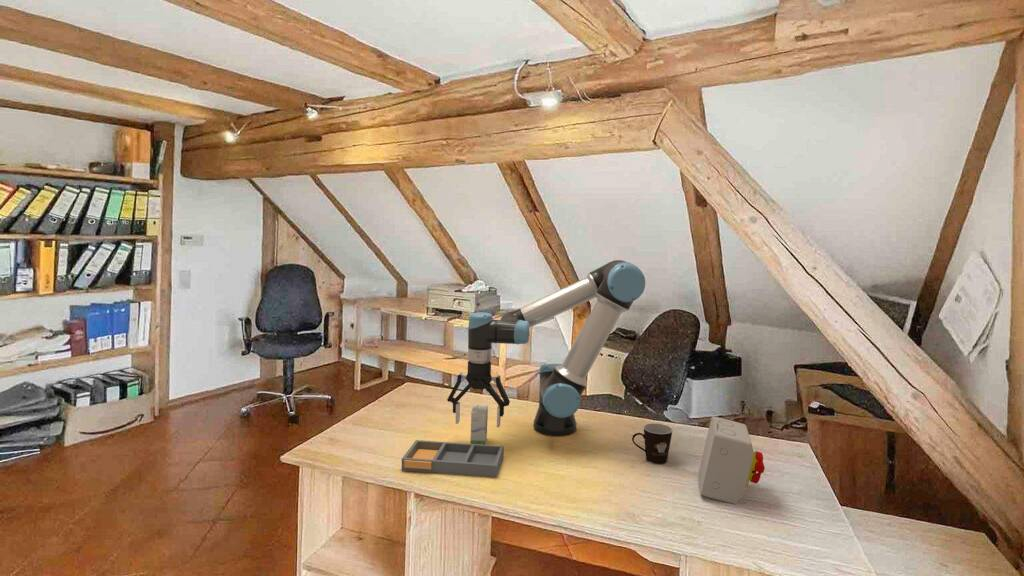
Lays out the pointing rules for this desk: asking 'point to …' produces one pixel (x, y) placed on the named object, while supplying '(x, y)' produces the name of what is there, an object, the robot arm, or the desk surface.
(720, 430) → the electrical switch box
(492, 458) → the tray
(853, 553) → the desk surface
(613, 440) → the desk surface
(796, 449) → the desk surface
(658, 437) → the coffee mug
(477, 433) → the ink box
